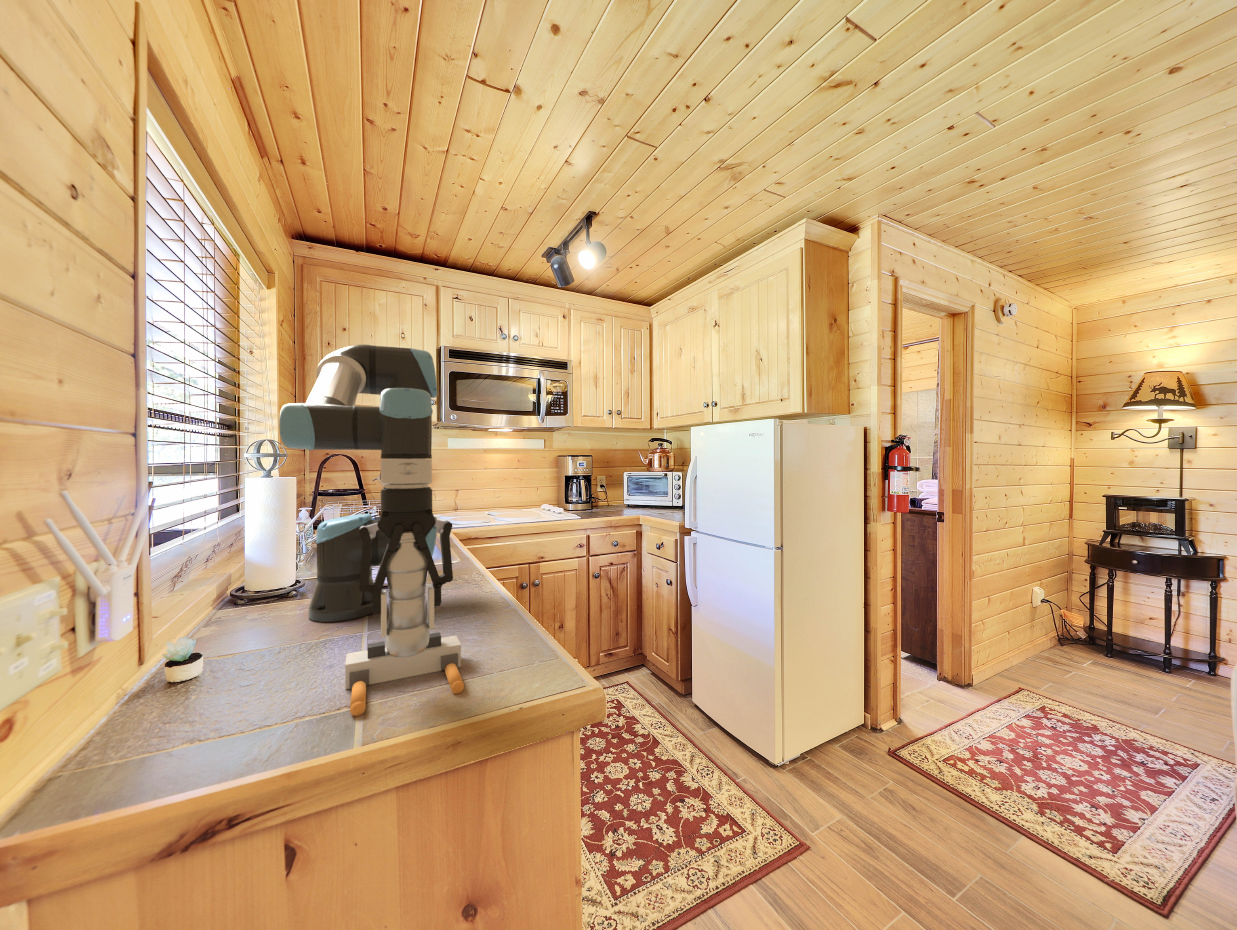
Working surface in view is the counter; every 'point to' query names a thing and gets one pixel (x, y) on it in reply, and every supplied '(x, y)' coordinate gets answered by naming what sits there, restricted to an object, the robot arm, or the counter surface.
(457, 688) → the cord
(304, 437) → the robot arm
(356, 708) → the cord
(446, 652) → the breaker strip
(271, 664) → the counter surface
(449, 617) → the counter surface
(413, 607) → the plastic bottle
